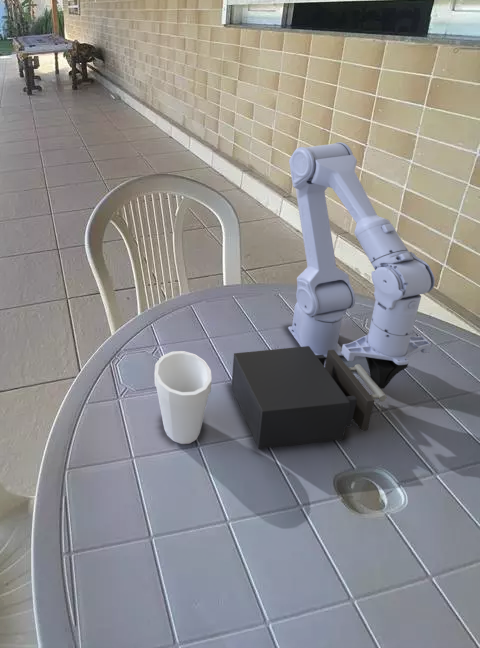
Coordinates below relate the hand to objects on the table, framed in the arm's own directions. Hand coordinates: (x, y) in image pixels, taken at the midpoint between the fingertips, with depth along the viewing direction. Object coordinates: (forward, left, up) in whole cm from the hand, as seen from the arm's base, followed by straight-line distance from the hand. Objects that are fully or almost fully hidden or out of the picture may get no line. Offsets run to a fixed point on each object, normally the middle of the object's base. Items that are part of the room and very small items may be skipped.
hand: (377, 384), depth 76 cm
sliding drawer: (0, -10, -3) cm, 10 cm away
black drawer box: (0, -17, -4) cm, 18 cm away
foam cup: (+1, -36, -5) cm, 36 cm away
